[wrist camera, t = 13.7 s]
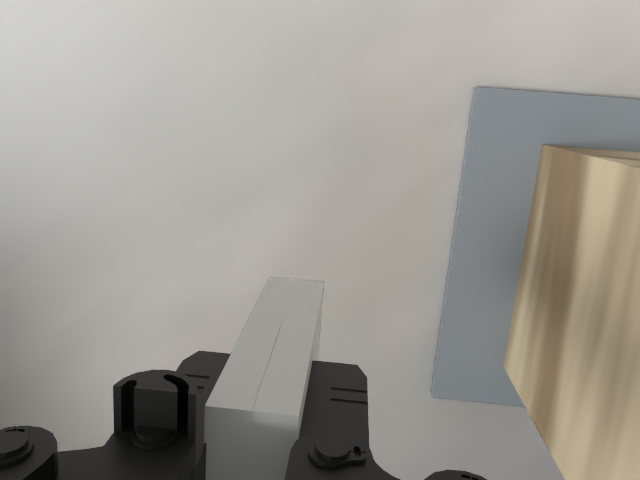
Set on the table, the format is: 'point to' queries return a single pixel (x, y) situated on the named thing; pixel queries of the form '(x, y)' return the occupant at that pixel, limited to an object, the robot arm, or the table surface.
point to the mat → (507, 223)
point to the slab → (581, 312)
